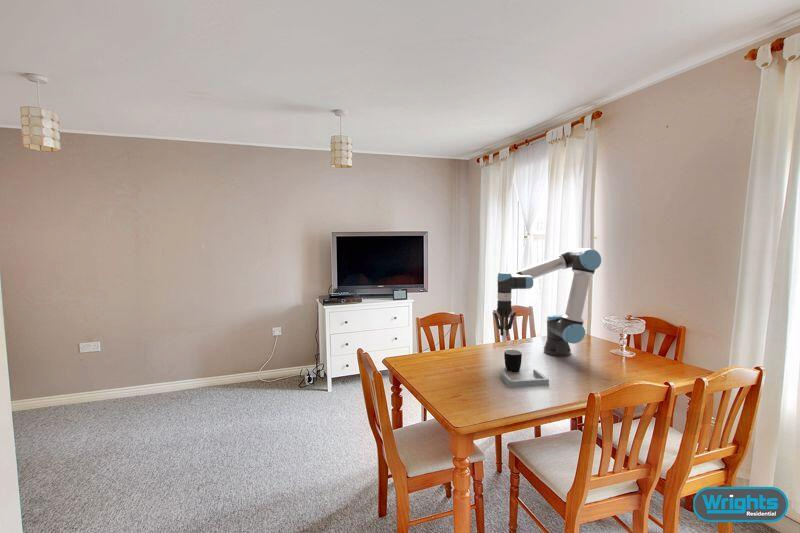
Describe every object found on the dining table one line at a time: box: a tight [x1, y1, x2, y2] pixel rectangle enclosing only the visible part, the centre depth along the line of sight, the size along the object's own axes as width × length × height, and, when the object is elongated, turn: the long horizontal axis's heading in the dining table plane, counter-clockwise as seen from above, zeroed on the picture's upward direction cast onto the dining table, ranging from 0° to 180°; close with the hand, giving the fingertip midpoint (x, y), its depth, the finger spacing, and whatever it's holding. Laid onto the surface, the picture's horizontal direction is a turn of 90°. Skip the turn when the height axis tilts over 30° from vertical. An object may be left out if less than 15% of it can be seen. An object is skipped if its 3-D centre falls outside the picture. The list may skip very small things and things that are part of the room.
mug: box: [503, 349, 523, 373], centre depth 204 cm, size 12×9×10 cm
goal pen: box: [499, 368, 550, 389], centre depth 188 cm, size 14×19×3 cm
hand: (504, 341), depth 213 cm, fingers closed
